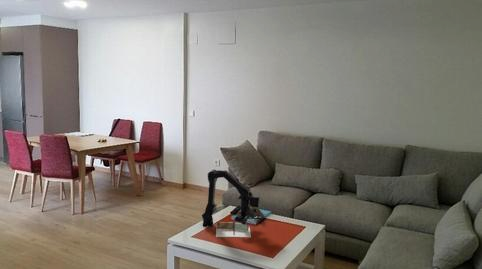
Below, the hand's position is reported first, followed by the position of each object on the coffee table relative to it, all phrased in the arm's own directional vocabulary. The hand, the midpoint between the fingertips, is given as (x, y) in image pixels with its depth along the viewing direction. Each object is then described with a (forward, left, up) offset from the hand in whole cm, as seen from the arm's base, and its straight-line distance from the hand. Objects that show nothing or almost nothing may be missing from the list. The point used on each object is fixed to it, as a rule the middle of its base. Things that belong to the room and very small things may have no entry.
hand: (244, 226), depth 266 cm
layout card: (-8, -4, -2) cm, 9 cm away
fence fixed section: (-13, +1, -2) cm, 13 cm away
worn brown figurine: (+10, +24, -3) cm, 26 cm away
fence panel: (-2, -2, -1) cm, 3 cm away
